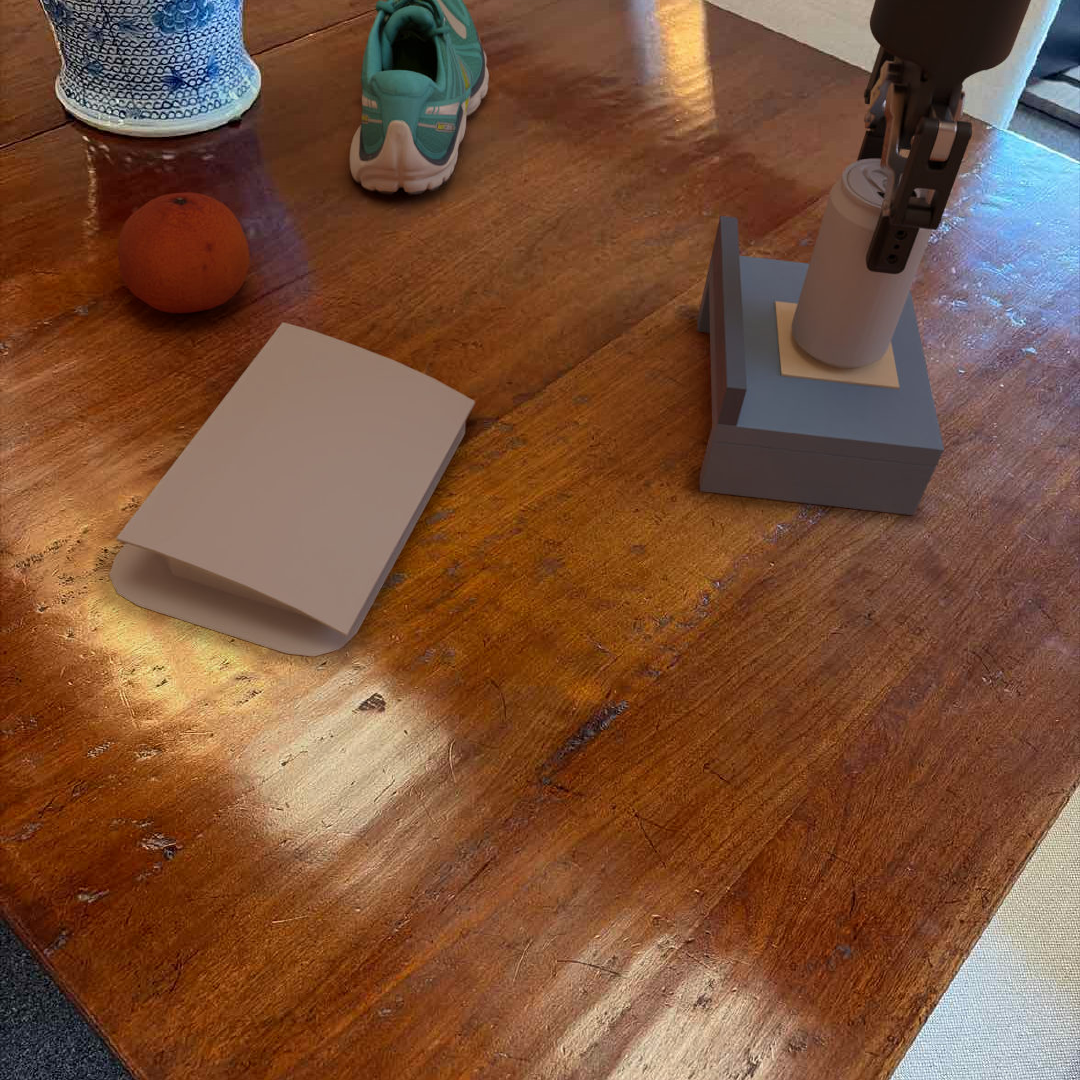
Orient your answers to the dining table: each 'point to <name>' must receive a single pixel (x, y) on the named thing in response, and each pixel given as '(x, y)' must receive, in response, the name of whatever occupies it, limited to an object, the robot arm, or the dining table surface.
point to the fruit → (183, 253)
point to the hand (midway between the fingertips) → (874, 227)
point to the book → (293, 496)
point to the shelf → (808, 398)
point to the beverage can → (852, 276)
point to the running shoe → (416, 94)
